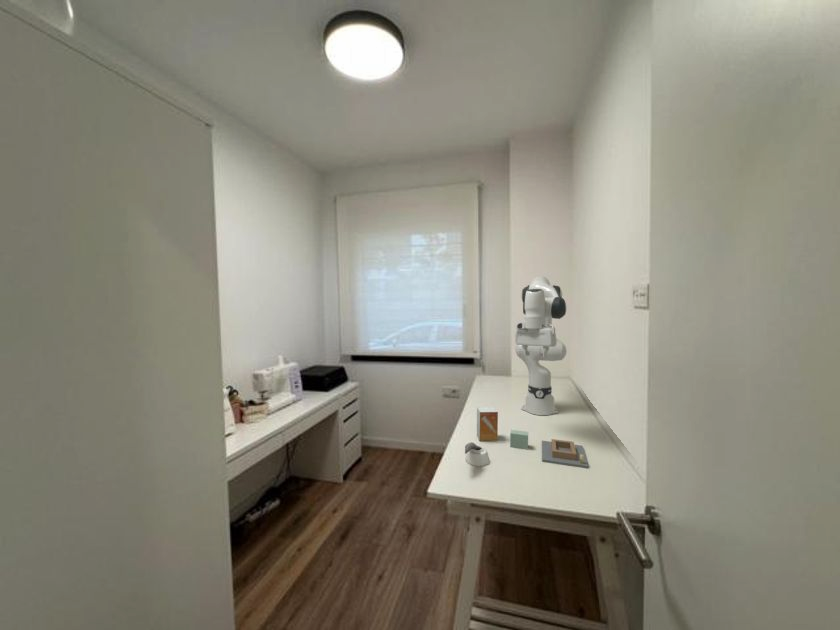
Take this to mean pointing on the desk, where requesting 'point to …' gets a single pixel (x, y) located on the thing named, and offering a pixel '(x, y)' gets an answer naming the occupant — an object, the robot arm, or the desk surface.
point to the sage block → (519, 439)
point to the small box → (487, 424)
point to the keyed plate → (563, 453)
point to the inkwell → (476, 455)
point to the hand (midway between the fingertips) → (535, 356)
